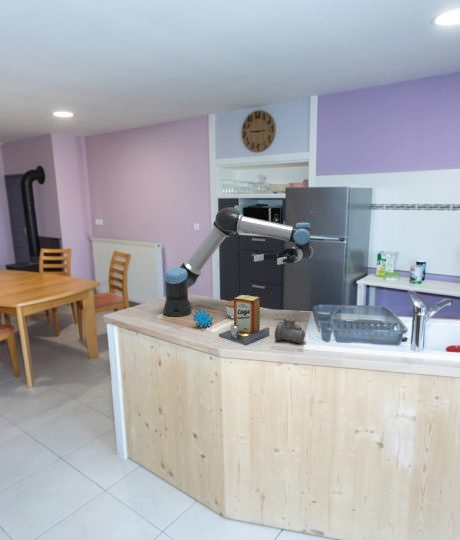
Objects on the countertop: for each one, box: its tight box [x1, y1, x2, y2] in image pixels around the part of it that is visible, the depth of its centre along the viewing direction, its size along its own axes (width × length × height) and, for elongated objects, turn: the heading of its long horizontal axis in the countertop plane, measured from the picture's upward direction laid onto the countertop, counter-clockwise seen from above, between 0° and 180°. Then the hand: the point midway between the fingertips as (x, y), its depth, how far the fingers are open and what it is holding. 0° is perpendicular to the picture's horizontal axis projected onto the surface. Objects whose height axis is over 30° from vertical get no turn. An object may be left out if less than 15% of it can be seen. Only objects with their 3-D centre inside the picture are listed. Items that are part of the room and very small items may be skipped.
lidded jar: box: [225, 299, 234, 318], centre depth 199 cm, size 11×11×9 cm
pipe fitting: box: [274, 316, 306, 344], centre depth 165 cm, size 12×8×10 cm
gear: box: [192, 309, 215, 328], centre depth 187 cm, size 11×6×10 cm
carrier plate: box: [218, 324, 270, 346], centre depth 172 cm, size 16×16×6 cm
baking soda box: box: [233, 294, 261, 335], centre depth 173 cm, size 10×6×16 cm
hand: (265, 260), depth 180 cm, fingers open, 13 cm apart
